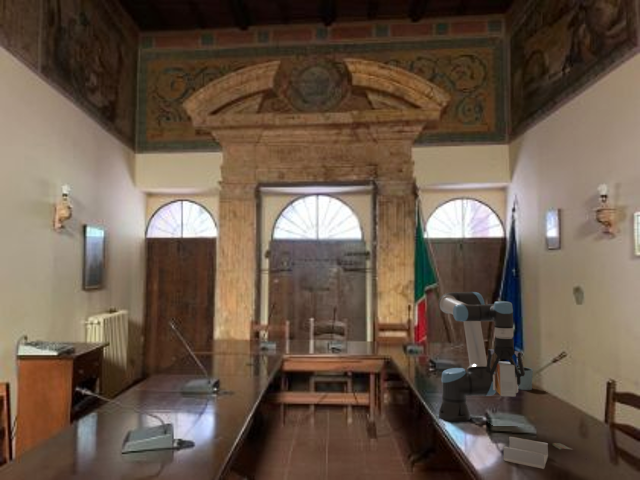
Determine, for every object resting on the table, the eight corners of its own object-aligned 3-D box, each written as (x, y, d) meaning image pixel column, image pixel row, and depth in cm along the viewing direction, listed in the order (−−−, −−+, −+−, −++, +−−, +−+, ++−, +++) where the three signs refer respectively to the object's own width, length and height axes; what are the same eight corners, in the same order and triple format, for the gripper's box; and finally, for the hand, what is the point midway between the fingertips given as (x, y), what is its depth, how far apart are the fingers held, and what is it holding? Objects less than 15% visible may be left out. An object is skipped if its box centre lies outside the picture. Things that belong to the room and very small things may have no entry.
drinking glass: (530, 386, 286) (529, 367, 287) (536, 390, 276) (535, 370, 277) (513, 386, 287) (512, 366, 288) (518, 390, 277) (518, 370, 278)
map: (557, 443, 193) (557, 441, 193) (604, 462, 174) (604, 460, 174) (548, 445, 191) (548, 443, 191) (595, 465, 172) (594, 462, 172)
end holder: (503, 460, 176) (503, 447, 176) (510, 448, 187) (509, 436, 187) (544, 468, 168) (543, 455, 169) (548, 456, 180) (547, 443, 180)
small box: (495, 391, 201) (495, 361, 202) (510, 391, 200) (510, 361, 201) (500, 396, 193) (499, 364, 194) (516, 396, 192) (515, 365, 193)
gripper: (477, 336, 200) (478, 389, 199) (529, 340, 189) (531, 396, 188) (481, 334, 207) (482, 385, 205) (531, 338, 195) (533, 392, 194)
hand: (505, 390), depth 196 cm, fingers closed on small box, 8 cm apart
